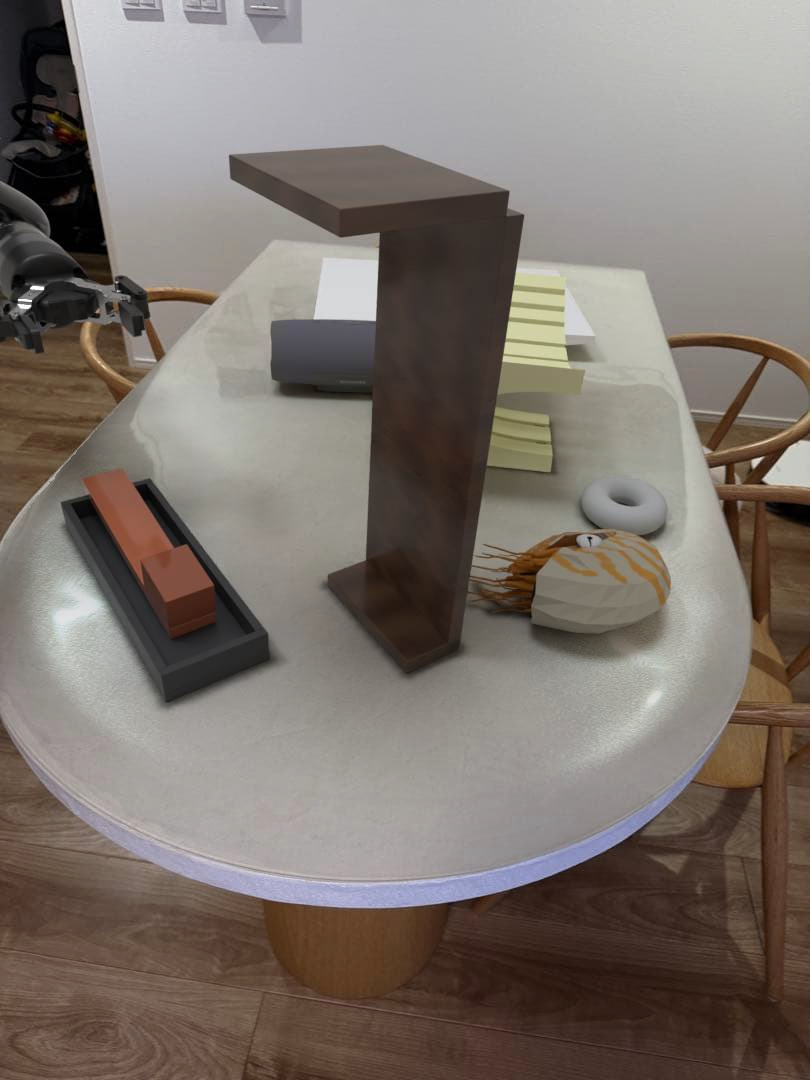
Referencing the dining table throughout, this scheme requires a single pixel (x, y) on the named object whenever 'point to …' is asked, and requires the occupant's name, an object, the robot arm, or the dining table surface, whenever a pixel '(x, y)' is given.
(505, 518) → the dining table surface
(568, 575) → the nautilus
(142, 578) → the reddish-brown long block
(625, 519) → the donut
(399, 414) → the dark brown wooden stand
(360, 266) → the board
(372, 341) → the bluetooth speaker
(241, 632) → the shallow dark tray
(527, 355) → the slatted curved stool
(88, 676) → the dining table surface
